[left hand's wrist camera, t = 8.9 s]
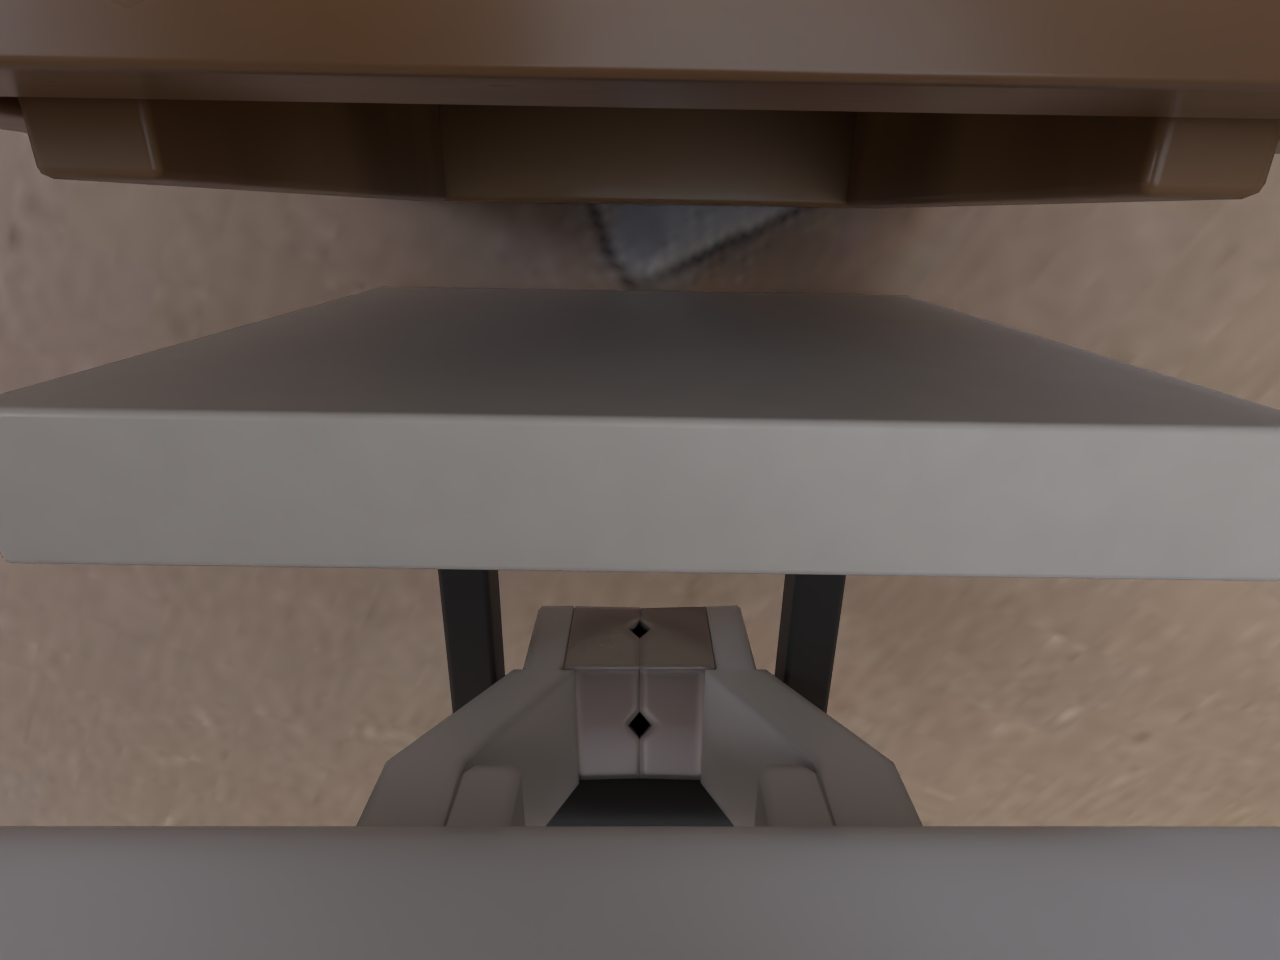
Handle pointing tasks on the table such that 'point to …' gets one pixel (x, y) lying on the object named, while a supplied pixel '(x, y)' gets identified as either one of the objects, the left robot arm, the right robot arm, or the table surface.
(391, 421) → the drawer
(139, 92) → the cabinet
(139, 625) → the table surface
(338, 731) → the table surface
